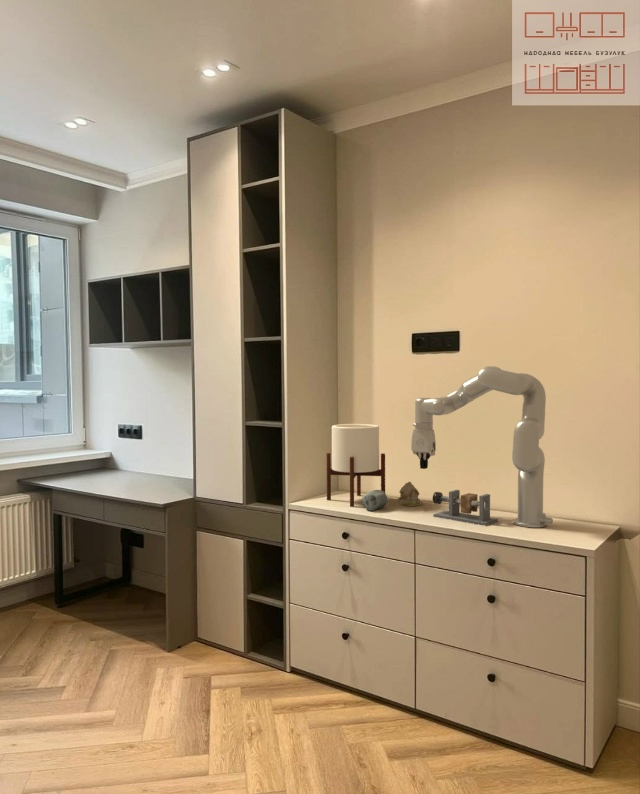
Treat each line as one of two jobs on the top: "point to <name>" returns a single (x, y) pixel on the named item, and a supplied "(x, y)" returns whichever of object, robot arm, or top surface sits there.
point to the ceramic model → (409, 495)
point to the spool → (374, 500)
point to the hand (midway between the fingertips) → (423, 468)
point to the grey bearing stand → (456, 515)
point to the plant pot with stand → (355, 455)
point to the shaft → (439, 498)
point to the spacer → (468, 503)
